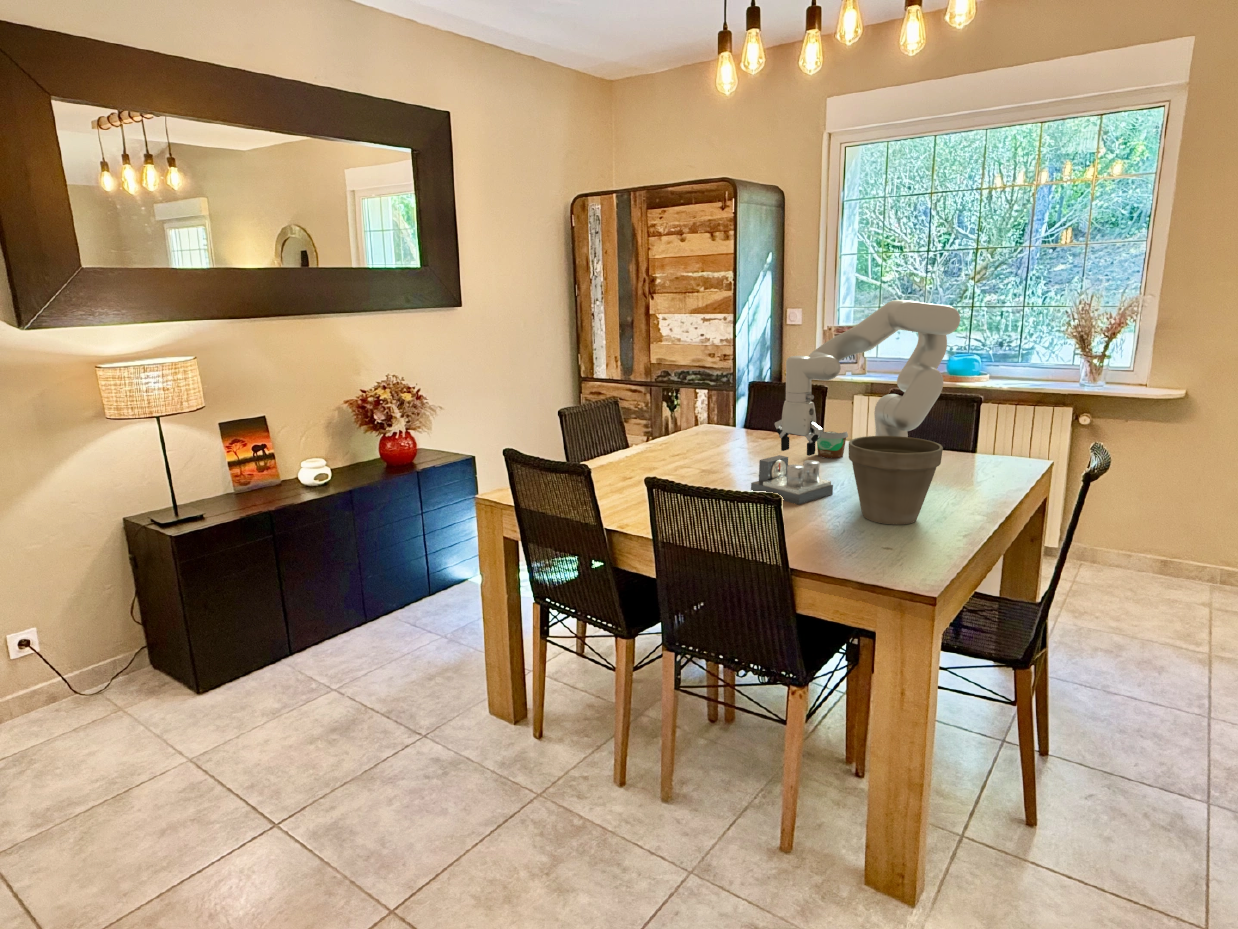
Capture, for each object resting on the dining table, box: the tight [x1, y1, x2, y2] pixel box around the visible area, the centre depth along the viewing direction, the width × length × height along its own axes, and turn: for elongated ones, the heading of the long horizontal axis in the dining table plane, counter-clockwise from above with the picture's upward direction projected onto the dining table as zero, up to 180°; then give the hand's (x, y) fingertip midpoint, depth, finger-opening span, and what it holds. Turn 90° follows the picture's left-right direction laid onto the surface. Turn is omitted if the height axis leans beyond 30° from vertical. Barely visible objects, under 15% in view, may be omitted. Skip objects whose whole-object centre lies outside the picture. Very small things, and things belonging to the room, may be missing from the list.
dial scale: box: [750, 454, 834, 506], centre depth 238 cm, size 19×17×10 cm
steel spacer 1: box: [787, 463, 804, 487], centre depth 232 cm, size 5×5×6 cm
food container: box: [814, 431, 849, 460], centre depth 284 cm, size 12×6×10 cm, turn 62°
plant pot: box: [848, 435, 944, 526], centre depth 212 cm, size 25×25×22 cm
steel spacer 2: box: [802, 459, 821, 483], centre depth 237 cm, size 5×5×6 cm
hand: (797, 452), depth 230 cm, fingers open, 9 cm apart
